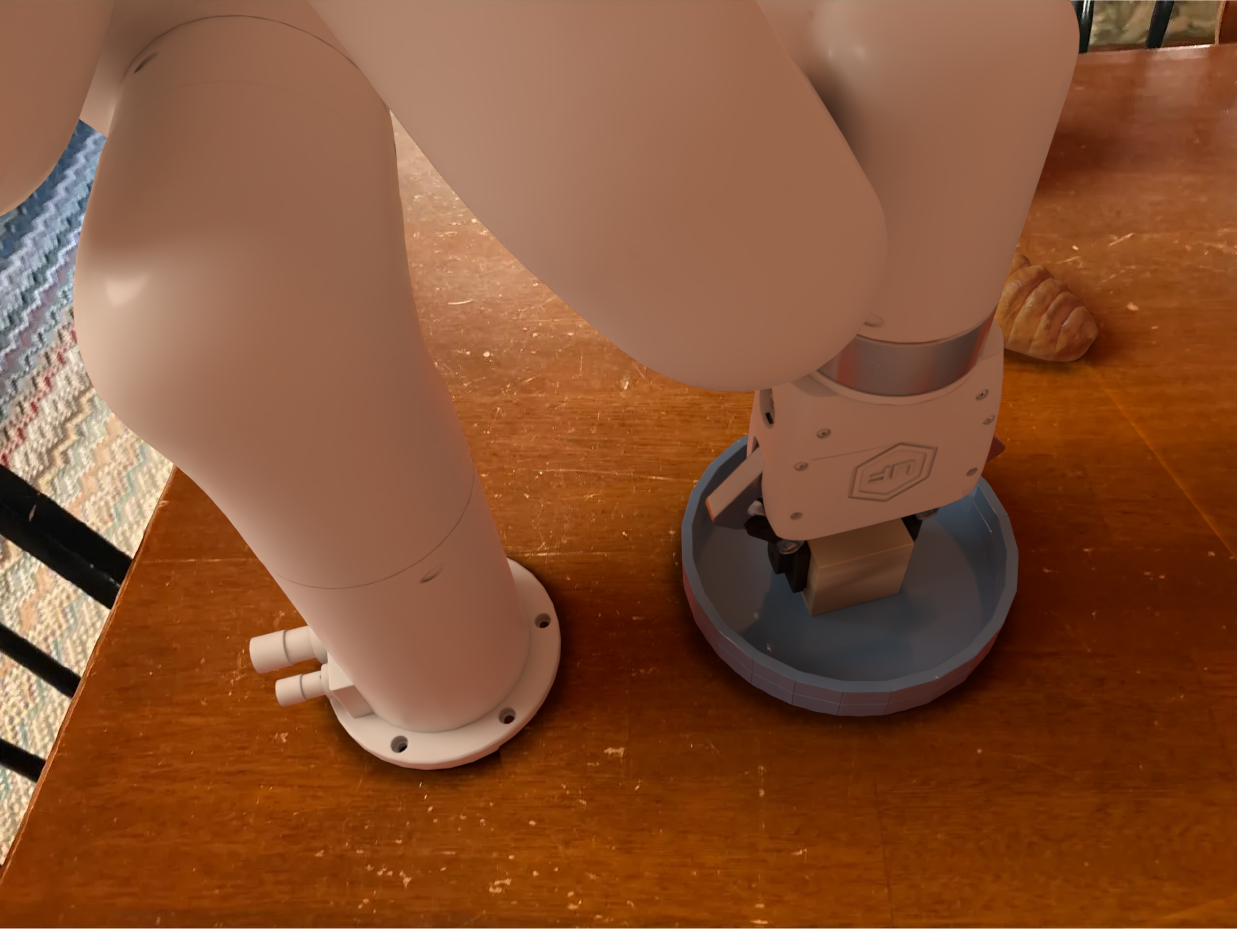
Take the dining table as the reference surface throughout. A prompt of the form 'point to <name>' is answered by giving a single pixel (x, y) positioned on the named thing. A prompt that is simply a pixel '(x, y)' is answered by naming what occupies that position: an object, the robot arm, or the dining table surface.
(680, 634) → the dining table surface
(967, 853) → the dining table surface
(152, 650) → the dining table surface
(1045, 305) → the pastry
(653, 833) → the dining table surface
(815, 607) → the block
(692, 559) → the bowl
